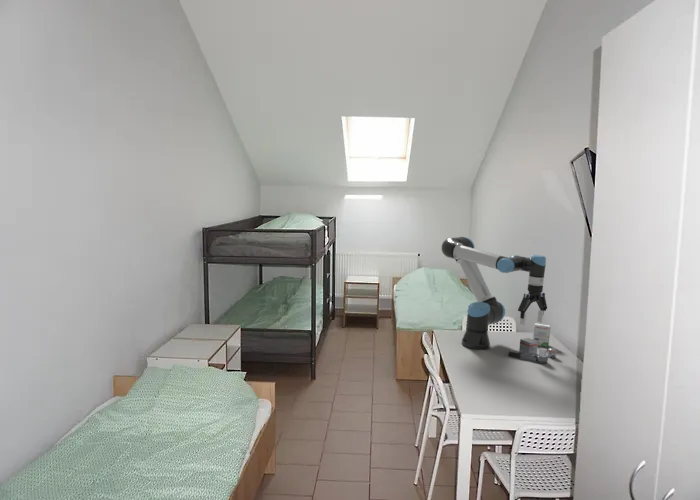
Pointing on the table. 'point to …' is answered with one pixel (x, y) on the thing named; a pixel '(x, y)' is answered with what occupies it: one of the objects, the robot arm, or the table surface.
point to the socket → (528, 346)
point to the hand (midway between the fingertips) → (531, 323)
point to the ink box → (542, 334)
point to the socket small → (552, 353)
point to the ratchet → (531, 356)
